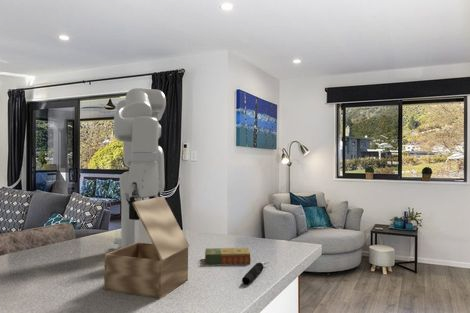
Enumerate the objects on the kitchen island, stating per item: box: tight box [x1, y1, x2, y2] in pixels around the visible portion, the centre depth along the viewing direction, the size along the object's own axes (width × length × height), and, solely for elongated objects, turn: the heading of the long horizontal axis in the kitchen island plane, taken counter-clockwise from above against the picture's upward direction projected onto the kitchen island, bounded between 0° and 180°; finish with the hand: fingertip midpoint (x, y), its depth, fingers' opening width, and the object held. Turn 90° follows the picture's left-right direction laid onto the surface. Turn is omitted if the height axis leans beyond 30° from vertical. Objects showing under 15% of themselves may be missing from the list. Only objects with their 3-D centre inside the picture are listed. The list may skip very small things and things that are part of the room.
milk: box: [135, 199, 152, 244], centre depth 132 cm, size 6×6×22 cm
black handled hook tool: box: [241, 261, 271, 286], centre depth 119 cm, size 22×4×3 cm, turn 161°
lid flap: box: [132, 195, 190, 260], centre depth 107 cm, size 17×16×1 cm
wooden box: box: [103, 242, 189, 300], centre depth 109 cm, size 18×16×10 cm
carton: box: [204, 247, 251, 265], centre depth 134 cm, size 8×16×4 cm, turn 94°
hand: (144, 216), depth 109 cm, fingers open, 9 cm apart
